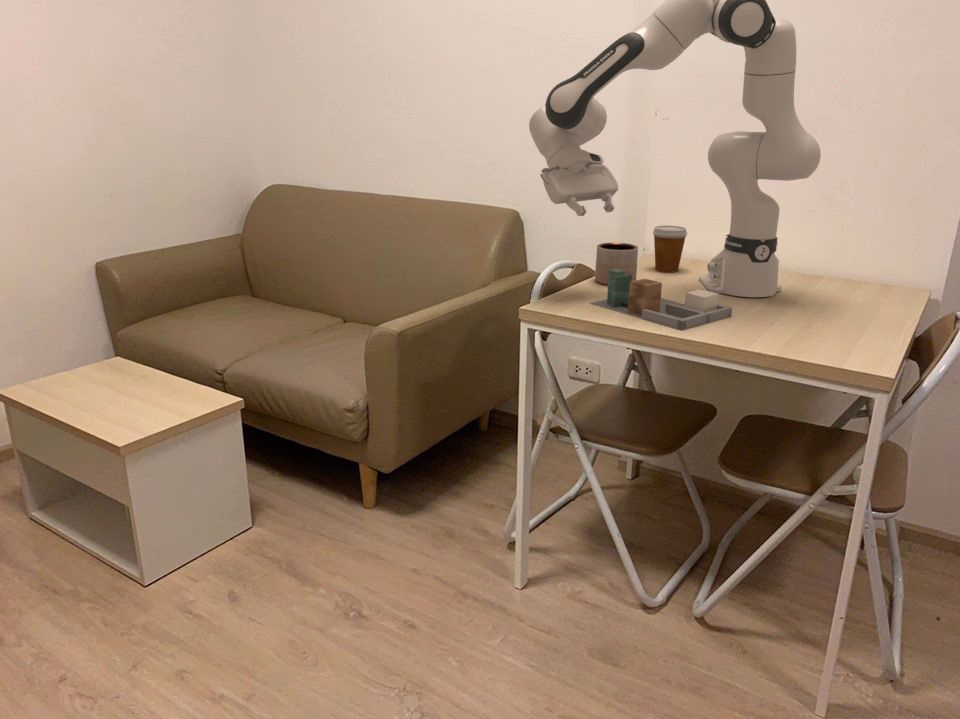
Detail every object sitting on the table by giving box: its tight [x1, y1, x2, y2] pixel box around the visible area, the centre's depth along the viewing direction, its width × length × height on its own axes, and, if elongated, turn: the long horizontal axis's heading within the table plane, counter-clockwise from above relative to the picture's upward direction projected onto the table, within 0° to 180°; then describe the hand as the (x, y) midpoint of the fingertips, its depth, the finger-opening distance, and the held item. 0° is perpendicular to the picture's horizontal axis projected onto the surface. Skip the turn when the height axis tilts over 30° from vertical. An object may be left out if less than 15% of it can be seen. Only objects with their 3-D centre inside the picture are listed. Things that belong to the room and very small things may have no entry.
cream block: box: [684, 289, 719, 312], centre depth 172 cm, size 5×5×5 cm
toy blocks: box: [606, 269, 663, 316], centre depth 176 cm, size 13×6×8 cm, turn 37°
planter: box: [594, 242, 639, 286], centre depth 203 cm, size 11×11×10 cm
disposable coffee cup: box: [652, 225, 688, 273], centre depth 216 cm, size 10×10×12 cm
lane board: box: [588, 297, 733, 331], centre depth 176 cm, size 27×18×2 cm, turn 38°
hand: (597, 212), depth 180 cm, fingers open, 8 cm apart
